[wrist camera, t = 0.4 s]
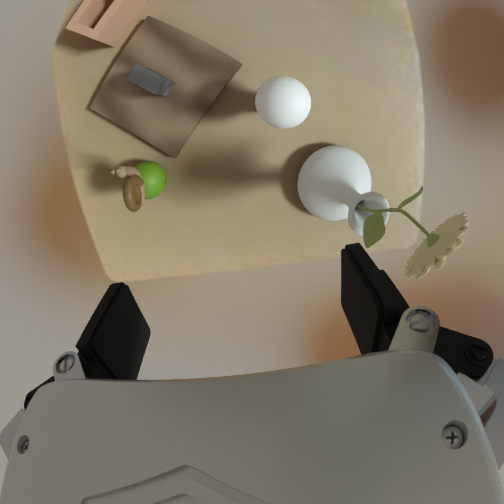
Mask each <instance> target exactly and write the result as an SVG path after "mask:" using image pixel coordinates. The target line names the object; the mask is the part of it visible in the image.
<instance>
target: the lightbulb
mask: <svg viewBox="0 0 504 504" xmlns="http://www.w3.org/2000/svg"><path fill="white" fill-rule="evenodd" d="M255 106H256V110H257V113H258V114H259V116H260V117H261V118H262V119H263V121H265V122H266V123H267V124H269V125H271V126H273V127H277V128H284V129H285V128H291V127H295V126H297V125H299V124H300V123H301V122H303V121H304V120H305V118H306V117H307V116H308V114H309V112H310V108H311V98H310V95H309V92H308V91H307V89H306V88H305V86H304V85H303V84H302V83H300V82H299V81H297V80H295V79H293V78H290V77H285V76H279V77H274V78H271V79H269V80H267V81H266V82H264V83H263V84H262V85H261V86H260V88H259V89H258V91H257V93H256V97H255Z"/></svg>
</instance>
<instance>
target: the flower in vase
mask: <svg viewBox="0 0 504 504" xmlns="http://www.w3.org/2000/svg"><path fill="white" fill-rule="evenodd" d="M297 187H298V193H299V197H300V199H301V202H302V203H303V205H304V206H305V208H306V209H307V210H308V211H309V212H310V213H312V214H313V215H315V216H316V217H319V218H321V219H325V220H332V221H335V220H343V219H346V218H348V222H349V225H350V227H351V229H352V230H353V231H354V232H355V233H357V234H359V235H362V236H363V238H364V243H365V246H366V248H369V247H370V246H372V245H373V244H375V243H376V242H377V241H379V240H380V239H381V238H382V237H383V235H384V233H385V224H386V222H387V220H388V217H389V212H400V213H402V214H404V215H405V216H407V217H408V218H409V219H410V220H411V221H412V222H413V223H414V224H415V225H416V226H417V227H419V228H420V229H421V230H422V231H423V232H424V233H425V234H426V235H427V238H426V239H425V240H424V241H423V242H422V243H421V244H420V246H419V247H418V248H417V249H416V251H415V252H414V254H413V255H412V256H411V258H410V259H409V260H408V262H407V264H408V265H407V266H406V271H405V275H407V274H408V273H409V272H410V273H409V276H408V277H409V278H410V277H412V276H413V275H414V274H415V273H416V275H417V276H416V280H419V279H420V278H421V277H423V276H425V275H426V274H427V273H428V271H429V270H430V268H431V266H432V265H433V263H434V266H435V268H436V269H440V268H442V267H443V266H444V264H445V256H450V255H452V254H453V253H454V251H455V249H456V248H459V247H461V246H462V245H463V244H464V239H463V238H459V237H460V236H461V235H462V234H464V233H465V232H467V230H468V225H469V223H468V222H469V221H468V220H466V219H467V216H465V215H466V213H465V212H463V213H461V214H459V215H455V216H453V217H452V218H449V219H447V220H446V221H445V222H444V223H443V224H441V225H439V226H438V227H437V228H436V230H435V231H433V232H431V233H430V234H429V233H428V232H427V231H426V230H425V229H424V228H423V227H422V226H421V225H420V224H419V223H418V222H417V221H416V220H415V219H414V218H413V217H411V216H410V215H409V214H408V213H407V212H405V211H404V210H402V209H400V208H402V207H403V206H405V205H406V204H408V203H409V202H411V201H412V200H414V199H415V198H417V197H418V196H419V195H420V194H421V193H422V191H423V186H422V187H421V188H420V190H419V191H418V192H417V193H416V194H415V195H413V196H411V197H409V198H407V199H406V200H404V201H403V202H402V203H401V204H400V205H399V207H398V208H389V205H388V202H387V200H386V199H385V198H384V197H383V196H382V195H381V194H379V193H376V192H370V190H371V175H370V171H369V168H368V166H367V164H366V162H365V160H364V159H363V158H362V157H361V156H360V155H359V154H358V153H357V152H355V151H354V150H352V149H350V148H347V147H344V146H337V145H334V146H327V147H324V148H321V149H319V150H317V151H316V152H314V153H313V154H311V155H310V156H309V157H308V158H307V160H306V161H305V162H304V164H303V166H302V167H301V170H300V172H299V176H298V184H297Z"/></svg>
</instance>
